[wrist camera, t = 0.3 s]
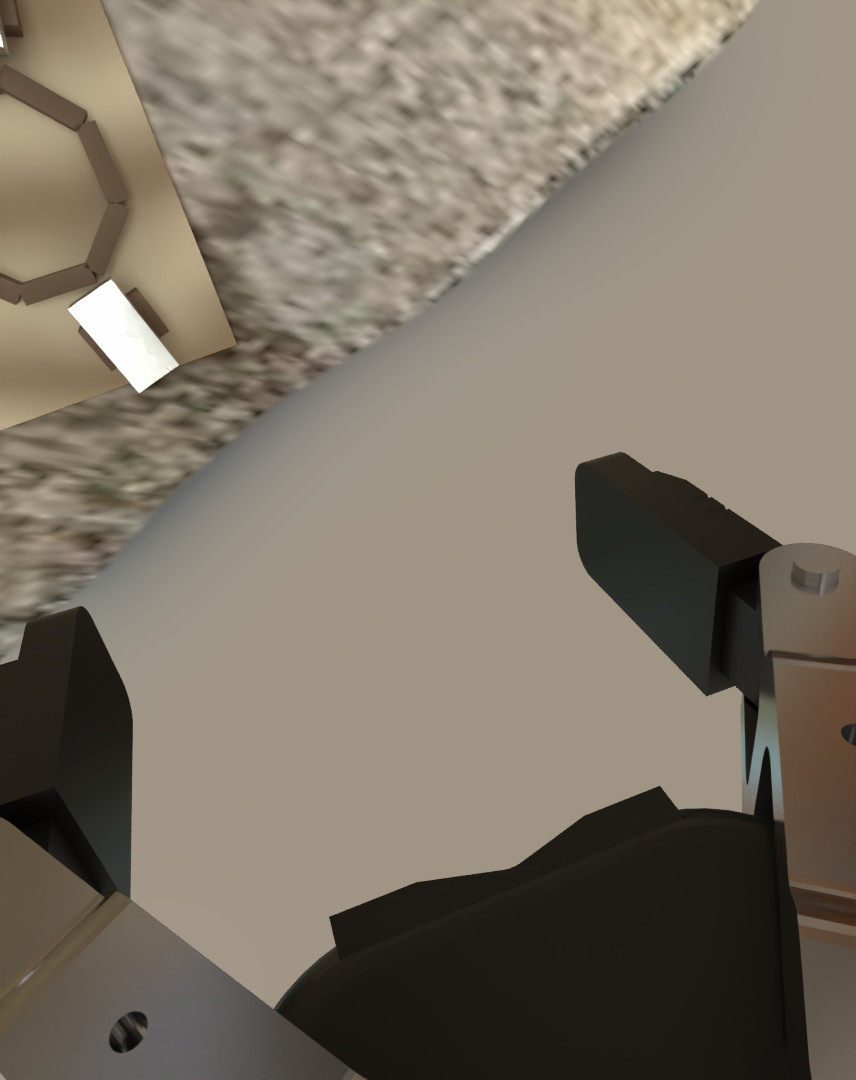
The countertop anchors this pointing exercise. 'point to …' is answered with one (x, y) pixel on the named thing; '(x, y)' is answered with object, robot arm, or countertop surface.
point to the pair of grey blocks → (119, 323)
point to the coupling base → (84, 213)
